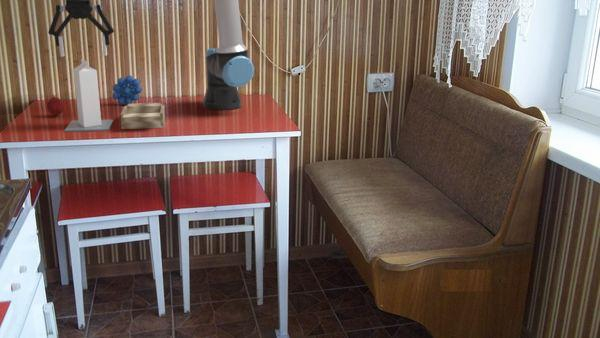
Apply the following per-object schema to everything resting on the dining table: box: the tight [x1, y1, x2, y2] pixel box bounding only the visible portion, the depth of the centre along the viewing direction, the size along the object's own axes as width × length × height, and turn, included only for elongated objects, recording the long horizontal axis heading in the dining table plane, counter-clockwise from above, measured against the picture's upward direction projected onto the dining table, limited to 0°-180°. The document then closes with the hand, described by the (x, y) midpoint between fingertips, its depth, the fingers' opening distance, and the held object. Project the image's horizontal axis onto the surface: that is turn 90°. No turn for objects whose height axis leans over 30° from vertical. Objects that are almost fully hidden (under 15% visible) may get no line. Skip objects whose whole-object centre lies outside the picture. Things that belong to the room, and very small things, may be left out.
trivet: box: [64, 119, 114, 133], centre depth 208 cm, size 14×14×1 cm
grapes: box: [112, 75, 143, 106], centre depth 241 cm, size 12×7×12 cm, turn 97°
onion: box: [46, 94, 65, 118], centre depth 221 cm, size 6×6×8 cm
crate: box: [120, 102, 166, 130], centre depth 213 cm, size 14×22×5 cm, turn 10°
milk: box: [73, 59, 102, 127], centre depth 205 cm, size 6×6×22 cm
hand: (84, 55), depth 201 cm, fingers open, 13 cm apart
